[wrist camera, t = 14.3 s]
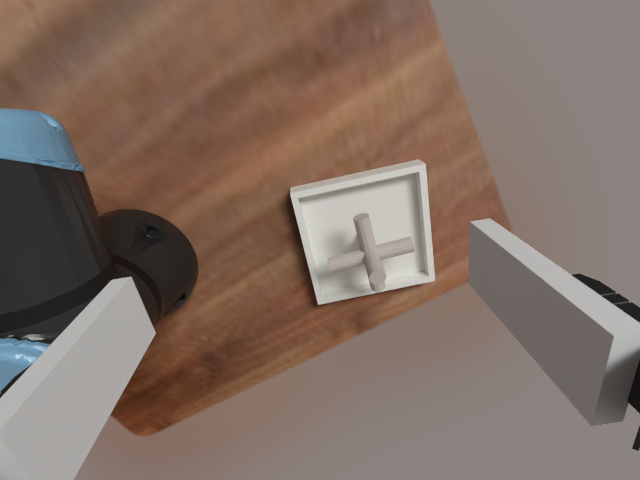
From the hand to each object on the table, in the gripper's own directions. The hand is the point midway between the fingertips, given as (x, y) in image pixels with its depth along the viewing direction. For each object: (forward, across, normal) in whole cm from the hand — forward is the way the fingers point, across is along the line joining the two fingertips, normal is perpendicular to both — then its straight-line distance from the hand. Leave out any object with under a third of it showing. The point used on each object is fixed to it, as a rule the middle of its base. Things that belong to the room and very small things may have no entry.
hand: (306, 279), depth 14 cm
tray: (+31, +7, -12) cm, 34 cm away
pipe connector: (+30, +6, -12) cm, 33 cm away
